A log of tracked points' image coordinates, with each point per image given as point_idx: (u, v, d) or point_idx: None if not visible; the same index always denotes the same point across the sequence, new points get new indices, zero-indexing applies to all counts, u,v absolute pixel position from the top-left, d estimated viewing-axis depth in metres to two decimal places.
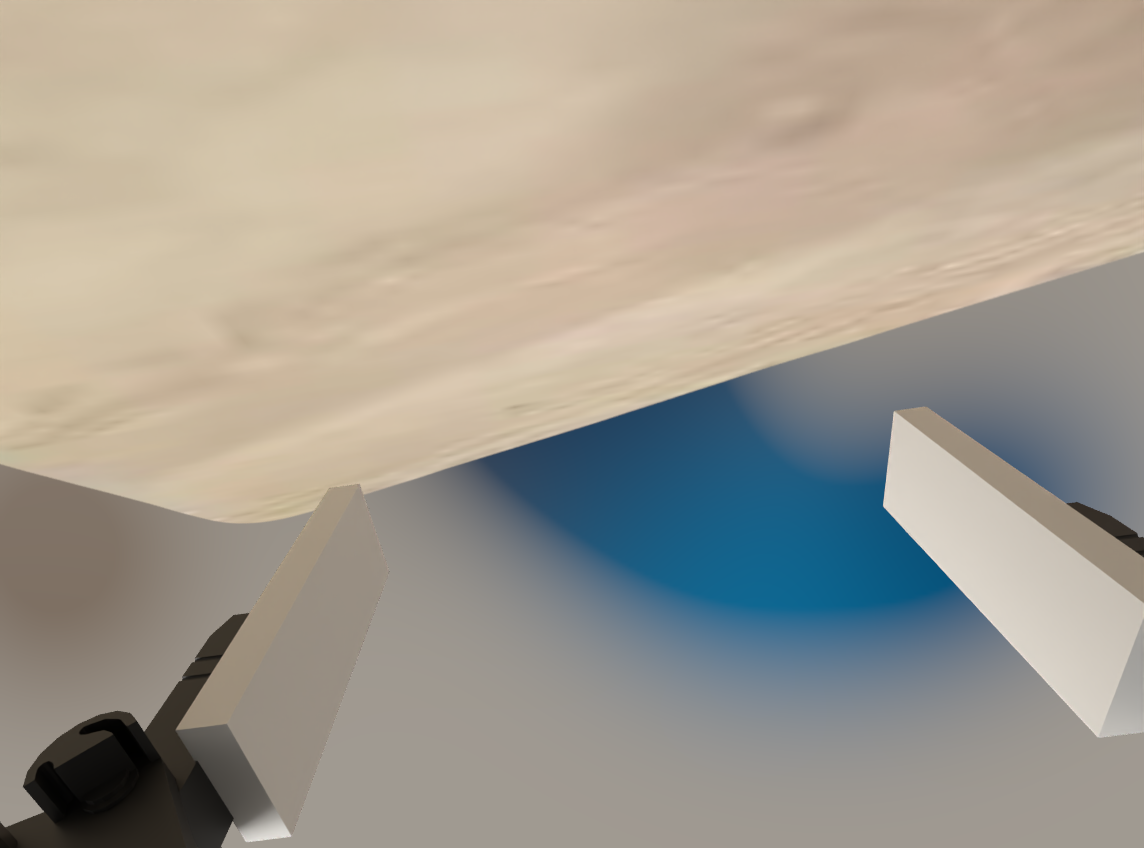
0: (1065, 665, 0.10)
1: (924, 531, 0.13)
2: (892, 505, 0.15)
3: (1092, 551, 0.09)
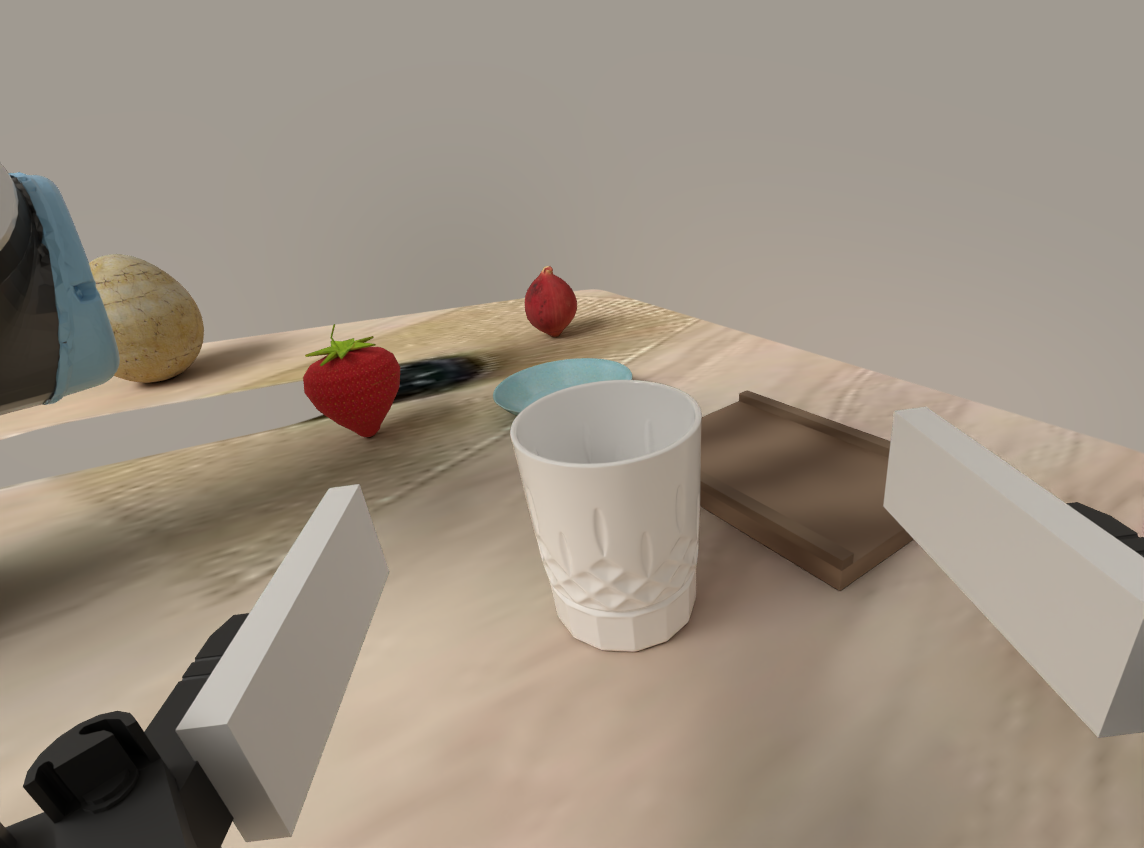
0: (1065, 665, 0.10)
1: (924, 531, 0.13)
2: (892, 505, 0.15)
3: (1092, 551, 0.09)
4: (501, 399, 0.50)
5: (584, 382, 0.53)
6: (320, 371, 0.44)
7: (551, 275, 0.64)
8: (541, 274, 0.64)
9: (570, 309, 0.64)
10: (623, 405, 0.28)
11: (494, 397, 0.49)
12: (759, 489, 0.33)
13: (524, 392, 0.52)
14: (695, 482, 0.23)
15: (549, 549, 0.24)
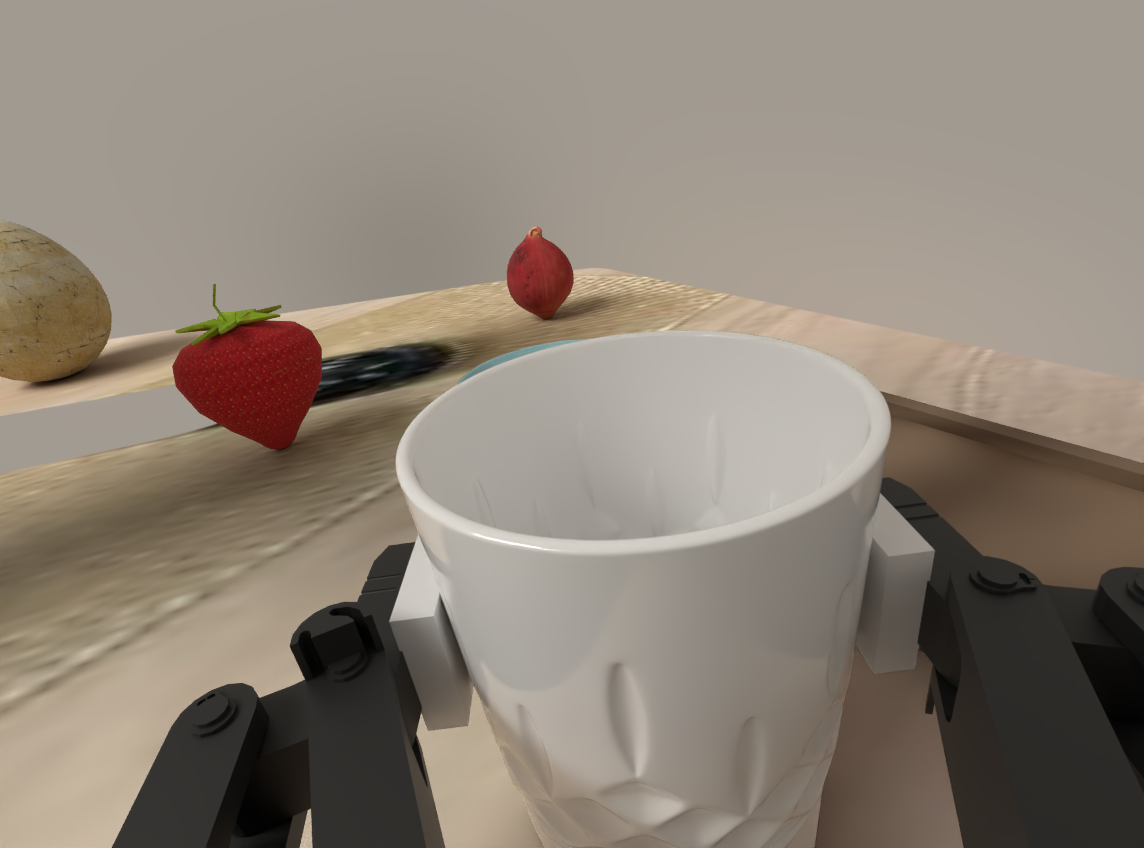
0: None
1: None
2: None
3: None
4: None
5: None
6: (193, 353, 0.30)
7: (540, 238, 0.50)
8: (527, 237, 0.50)
9: (564, 281, 0.50)
10: (661, 384, 0.14)
11: None
12: None
13: None
14: (867, 567, 0.09)
15: (498, 728, 0.10)
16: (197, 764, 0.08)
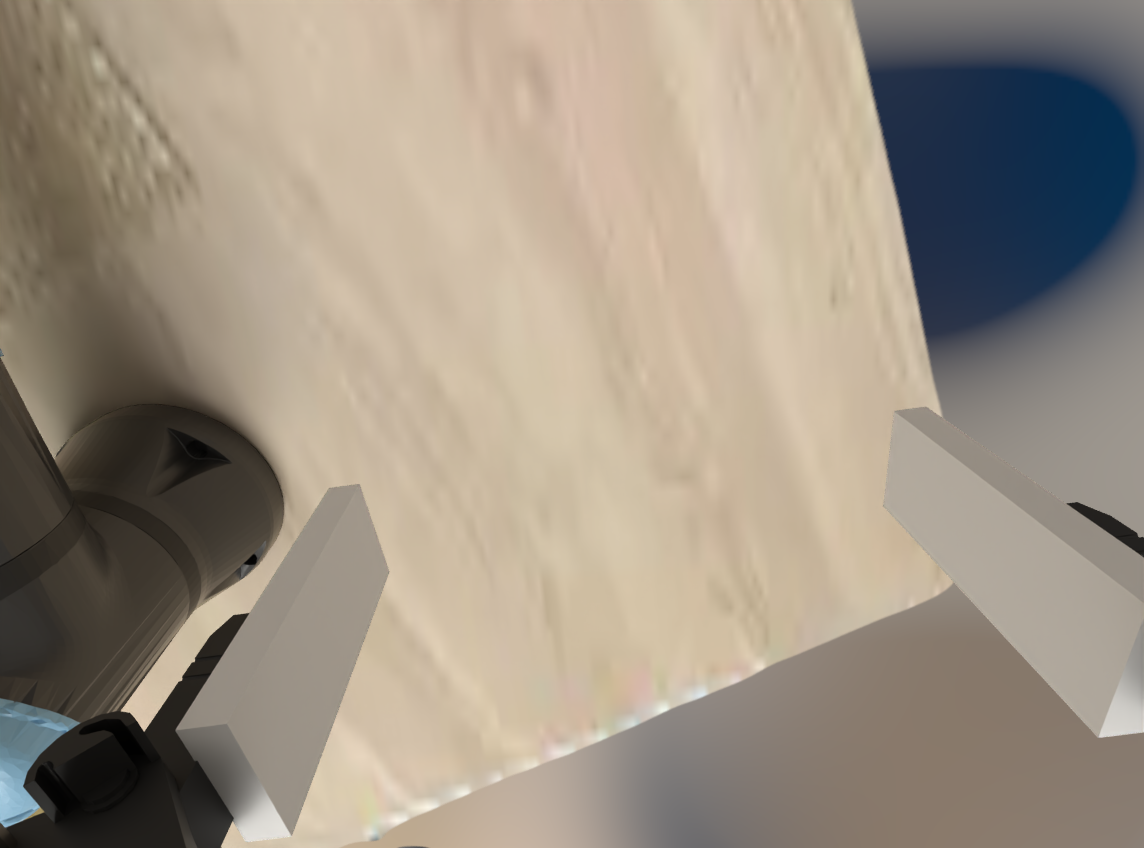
0: (1065, 665, 0.10)
1: (924, 531, 0.13)
2: (892, 505, 0.15)
3: (1092, 551, 0.09)
4: None
5: None
6: None
7: None
8: None
9: None
10: None
11: None
12: None
13: None
14: None
15: None
16: None
